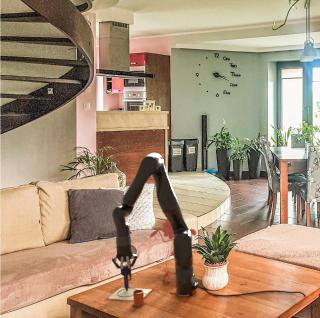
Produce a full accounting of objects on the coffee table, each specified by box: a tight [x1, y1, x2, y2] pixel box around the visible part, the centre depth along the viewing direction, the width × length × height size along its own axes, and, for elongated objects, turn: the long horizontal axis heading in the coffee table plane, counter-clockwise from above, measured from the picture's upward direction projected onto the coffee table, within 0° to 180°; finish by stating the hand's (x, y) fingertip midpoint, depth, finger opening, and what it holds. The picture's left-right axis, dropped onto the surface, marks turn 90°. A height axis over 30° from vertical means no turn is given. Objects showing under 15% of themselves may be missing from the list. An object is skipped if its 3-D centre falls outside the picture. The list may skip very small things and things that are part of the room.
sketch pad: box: [107, 286, 153, 301], centre depth 227 cm, size 18×14×1 cm
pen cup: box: [133, 288, 145, 307], centre depth 214 cm, size 5×5×7 cm
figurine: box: [149, 218, 197, 283], centre depth 247 cm, size 15×26×35 cm, turn 115°
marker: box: [123, 264, 130, 291], centre depth 230 cm, size 2×2×14 cm
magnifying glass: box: [128, 244, 138, 280], centre depth 247 cm, size 9×2×20 cm, turn 105°
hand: (125, 274), depth 230 cm, fingers closed on marker, 2 cm apart
